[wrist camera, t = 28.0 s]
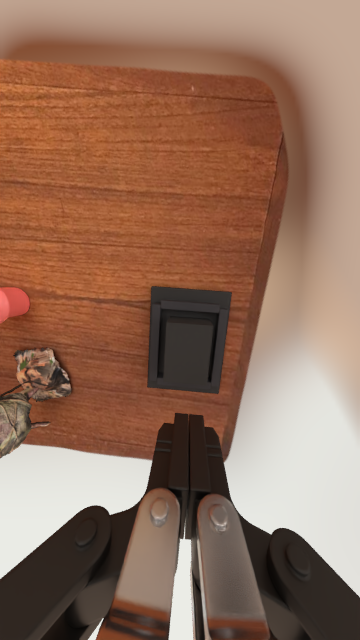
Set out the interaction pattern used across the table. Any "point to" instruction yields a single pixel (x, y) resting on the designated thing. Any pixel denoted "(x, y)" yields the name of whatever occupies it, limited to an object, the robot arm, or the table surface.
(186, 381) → the small black block
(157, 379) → the base pad
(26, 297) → the figurine
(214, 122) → the table surface
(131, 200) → the table surface
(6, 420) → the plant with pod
